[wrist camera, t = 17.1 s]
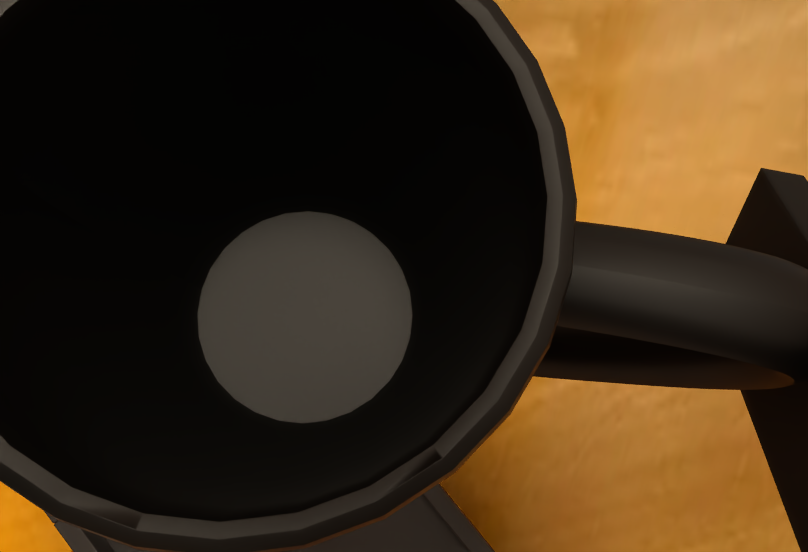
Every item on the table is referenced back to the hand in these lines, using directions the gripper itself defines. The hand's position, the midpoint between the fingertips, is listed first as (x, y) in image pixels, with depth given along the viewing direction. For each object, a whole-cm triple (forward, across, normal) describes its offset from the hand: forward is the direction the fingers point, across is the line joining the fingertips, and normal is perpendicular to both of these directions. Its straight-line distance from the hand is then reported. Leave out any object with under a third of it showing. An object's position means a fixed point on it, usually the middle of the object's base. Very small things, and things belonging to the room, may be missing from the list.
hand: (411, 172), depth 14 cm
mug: (+2, 0, -5) cm, 5 cm away
